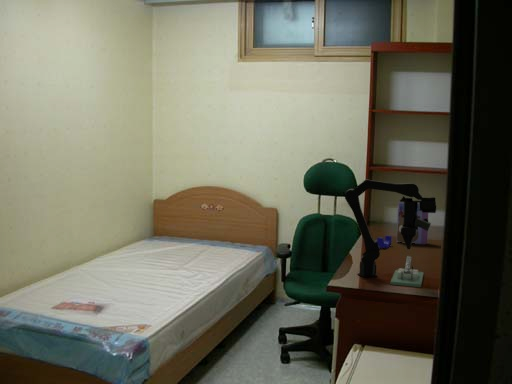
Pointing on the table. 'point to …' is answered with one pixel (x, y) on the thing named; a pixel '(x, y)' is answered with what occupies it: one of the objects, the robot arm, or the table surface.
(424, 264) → the table surface
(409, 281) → the circuit board
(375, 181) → the robot arm
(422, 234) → the cereal box
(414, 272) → the heat sink
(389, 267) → the table surface
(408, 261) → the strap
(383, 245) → the cable clip
